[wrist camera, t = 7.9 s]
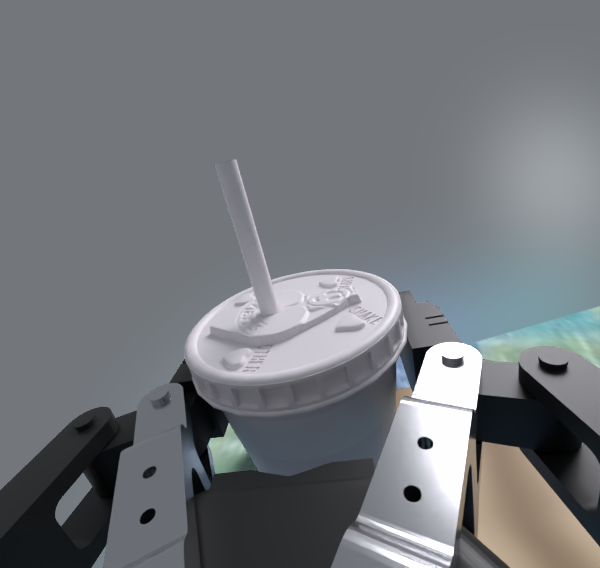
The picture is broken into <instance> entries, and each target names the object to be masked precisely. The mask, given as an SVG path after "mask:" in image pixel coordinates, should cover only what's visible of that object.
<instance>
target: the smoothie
mask: <svg viewBox="0 0 600 568" xmlns="http://www.w3.org/2000/svg"><path fill="white" fill-rule="evenodd" d="M214 166H215V169H216V172H217V175H218V178H219V182H220V185H221V188H222V191H223V194H224V198H225V201H226V204H227V207H228V210H229V214H230V217H231V220H232V223H233V226H234V230H235V233H236V236H237V239H238V242H239V245H240V249H241V252H242V255H243V258H244V262H245V265H246V268H247V271H248V274H249V277H250V281H251V284H252V287H251V288H249V289H247V290H244V291H242V292H240V293H238V294H236V295H234V296H232V297H231V298H229V299H227V300H225V301H224V302H222V303H221V304H219V305H218V306H216V307H215V308H213V309H212V310H211V311H210V312H209V313H207V314H206V315H205V316H204V317H203V318H202V319H201V320H200V321H199V322H198V323H197V324H196V326H195V327H194V328H193V330H192V331H191V333H190V334H189V336H188V338H187V340H186V343H185V348H184V357H185V361H186V363H187V365H188V367H189V370H190V372H191V374H192V380H193V383H194V385H195V388H196V391H197V393H198V395H199V396H201V397H202V398H203V399H204V400H205V401H206V402H208V403H209V404H210V405H211V406H212V407H213V408H216V409H219V410H222V411H223V413H224V414H225V416H226V418H227V420H228V421H229V423H230V425H231V427H232V428H233V430H234V432H235V434H236V435H237V437H238V438H239V439H240V441H241V443H242V444H243V446H244V448H245V449H246V451H247V453H248V454H249V456H250V458H251V459H252V461H253V463H254V464H255V466H256V468H257V469H258V471H259V472H265V473H271V474H277V475H283V476H292V475H295V474H298V473H301V472H304V471H307V470H310V469H313V468H316V467H319V466H322V465H325V464H328V463H331V462H338V461H348V460H357V459H367V458H373V462H374V467H375V469H376V466H377V464H378V461H379V458H380V456H381V453H382V450H383V447H384V445H385V442H386V439H387V437H388V434H389V431H390V428H391V426H392V423H393V420H394V418H395V415H396V390H397V384H396V361H397V359H398V357H399V355H400V354H401V352H402V350H403V348H404V346H405V344H406V342H407V322H406V320H405V318H404V316H403V312H402V305H401V299H400V295H399V293H398V291H397V290H396V289H395V287H394V286H393V285H391V284H390V283H389V282H387V281H386V280H385V279H382V278H380V277H378V276H375V275H373V274H370V273H365V272H362V271H355V270H346V269H329V270H315V271H308V272H302V273H297V274H292V275H288V276H283V277H280V278H276V279H273V280H271V279H270V275H269V271H268V268H267V265H266V261H265V258H264V254H263V251H262V247H261V244H260V240H259V237H258V234H257V230H256V226H255V223H254V219H253V216H252V212H251V209H250V205H249V202H248V199H247V196H246V192H245V188H244V185H243V182H242V178H241V174H240V171H239V167H238V164H237V160H231V161H227V162H223V163H219V164H216V165H214Z"/></svg>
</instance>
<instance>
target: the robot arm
mask: <svg viewBox="0 0 600 568" xmlns="http://www.w3.org/2000/svg"><path fill="white" fill-rule="evenodd" d="M399 295H400V299H401V305H402V312H403V316H404V318H405V320H406V322H407V342H406V344H405V346H404V348H403V350H402V352H401V354H400V357H401V360H402V363H403V366H404V369H405V372H406V375H407V378H408V380H409V383H410V386H411V389H412V392H413V394H412V397H409V396H403V398H402V399H401V401H400V404H399V407H398V409H397V412H396V415H395V418H394V420H393V423H392V426H391V428H390V431H389V434H388V437H387V439H386V442H385V445H384V447H383V450H382V453H381V456H380V458H379V461H378V464H377V466H376V469H375V467H374V462H373V458H367V459H357V460H348V461H338V462H331V463H328V464H325V465H322V466H319V467H316V468H313V469H310V470H307V471H304V472H301V473H298V474H295V475H292V476H283V475H277V474H271V473H265V472H258V471H252V470H250V471H240V472H230V473H220V474H215V470H214V465H213V459H212V453H211V450H210V448H209V446H208V443H209V440H210V438H216V437H224V435H225V432H226V429H227V426H228V423H229V421H228V420H227V418H226V416H225V414H224V413H223V411H222V410H219V409H216V408H213V407H212V406H211V405H210V404H209V403H208V402H206V401H205V400H204V399H203V398H202V397H201V396H199V395H198V393H197V391H196V388H195V385H194V383H193V380H192V374H191V372H190V370H189V367H188V365H187V363H186V361H185V359H184V361H183V364H181V365H180V367H179V369H178V370H177V372H176V373H175V375H174V376H173V378H172V380H171V381H170V383H169V384H165V385H162V386H159V387H157V388H155V389H154V390H152V391H151V392H149V393H148V394H146V395H145V396H144V397H143V398H142V400H141V401H140V402H139V404H138V408H137V411H134V412H132V413H129V414H126V415H123V416H120V417H117V418H115V417H114V415H113V413H112V411H111V410H110V409H109V408H108V407H99V408H95V409H92V410H90V411H87V412H85V413H83V414H82V415H80V416H78V417H77V418H75V420H73V421H72V422H71V423H70V424H68V425H67V426H66V427H65V428H64V429H63V430H62V431H61V432H60V433H59V434H58V435H57V436H56V437H55V438H54V439H53V440H52V441H51V442H50V443H49V444H48V445H47V446H46V447H45V448H44V449H43V450H42V451H41V452H40V453H39V454H37V455H36V456H35V457H34V458H33V460H31V461H30V462H29V463H28V464H27V465H26V466H25V467H24V468H23V469H22V470H21V471H20V472H19V473H18V474H17V475H16V476H15V477H14V478H13V479H12V480H11V481H10V482H8V483H7V484H6V485H5V486H4V487H3V488H2V489H1V490H0V568H91V567H92V566H93V564H94V563H95V561H96V560H97V558H98V557H99V555H100V554H101V552H102V551H103V549H104V547H105V546H106V551H105V558H104V565H103V568H510V567H509V566H508V565H507V564H506V563H505V562H504V561H502V560H501V559H500V558H499V557H498V556H497V555H496V554H494V553H493V552H492V551H491V550H490V549H489V548H488V547H486V546H485V545H484V544H483V543H482V542H481V541H480V540H479V539H477V537H478V516H479V492H480V480H481V469H482V458H483V446H484V442H488V443H494V444H501V445H507V446H513V447H519V449H520V450H521V452H522V453H523V454H524V455H525V457H526V458H527V459H528V460H529V461H530V463H531V464H532V465H533V466H534V468H535V469H536V470H537V471H538V472H539V474H540V475H541V476H542V477H543V479H544V480H545V481H546V482H547V483H548V485H549V486H550V487H551V488H552V489H553V491H554V492H555V493H556V494H557V496H558V497H559V498H560V499H561V500H562V502H563V503H564V504H565V505H566V507H567V508H568V509H569V510H570V511H571V513H572V514H573V515H574V516H575V517H576V519H577V520H578V521H579V522H580V524H581V525H582V526H583V527H584V528H585V530H586V531H587V532H588V533H589V535H590V536H591V537H592V538H593V539H594V541H595V542H596V543H597V544H598V545H599V547H600V369H599V368H598V367H596V366H595V365H593V364H592V363H590V362H589V361H587V360H586V359H584V358H583V357H581V356H580V355H578V354H576V353H574V352H572V351H569V350H566V349H562V348H557V347H549V346H541V347H533V348H530V349H527V350H525V351H523V352H522V353H521V354H520V356H519V363H510V362H496V361H490V360H485V359H482V357H481V354H480V353H479V352H478V351H477V350H476V349H474V348H473V347H471V346H468V345H466V344H462V343H461V341H460V339H459V338H458V336H457V335H456V333H455V332H454V330H453V329H452V327H451V326H450V324H449V323H448V321H447V320H446V318H445V316H443V313H442V312H441V311H440V309H439V307H437V306H436V305H434V304H432V303H430V302H428V301H426V302H420V303H416V301H415V299H414V297H413V295H412V294H411V292H410V291H404V292H399ZM82 473H84V474H85V476H86V477H87V479H88V480H89V482H90V483H91V485H92V486H93V487H92V488H91V490H90V491H89V492H88V493H87V495H86V496H85V497H84V499H83V500H82V501H81V502H80V504H79V505H78V506H77V507H76V509H75V510H74V511H73V512H72V514H71V515H70V516H69V517H68V519H67V520H66V521H65V523H64V524H63V525H62V526H60V525H59V524H58V522H57V521H56V519H55V510H56V506H57V504H58V502H59V500H60V499H61V498H62V496H63V495H64V494H65V493H66V492H67V490H68V489H69V488H70V487H71V486H72V485H73V483H74V482H75V481H76V480H77V479H78V477H79V476H80V475H81V474H82ZM106 544H107V545H106Z"/></svg>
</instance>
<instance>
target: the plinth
mask: <svg viewBox="0 0 600 568" xmlns="http://www.w3.org/2000/svg"><path fill="white" fill-rule="evenodd" d="M412 394H413V392H412V389H411V387H409V388H401V389H397V390H396V412H397V409H398V407H399V404H400V401H401V399H402V398H403V396H409V397H412ZM477 539H479V540H480V541H481V542H482V543H483V544H484V545H485V546H486V547H488V548H489V549H490V550H491V551H492V552H493V553H494V554H496V555H497V556H498V557H499V558H500V559H501V560H502V561H504V562H505V563H506V564H507V565H508V566H509V567H510V568H600V547H599V545H598V544H597V543H596V542H595V541H594V539H593V538H592V537H591V536H590V535H589V533H588V532H587V531H586V530H585V528H584V527H583V526H582V525H581V524H580V522H579V521H578V520H577V519H576V517H575V516H574V515H573V514H572V513H571V511H570V510H569V509H568V508H567V507H566V505H565V504H564V503H563V502H562V500H561V499H560V498H559V497H558V496H557V494H556V493H555V492H554V491H553V489H552V488H551V487H550V486H549V485H548V483H547V482H546V481H545V480H544V479H543V477H542V476H541V475H540V474H539V472H538V471H537V470H536V469H535V468H534V466H533V465H532V464H531V463H530V461H529V460H528V459H527V458H526V457H525V455H524V454H523V453H522V452H521V450H520V449H519V447H513V446H507V445H501V444H494V443H488V442H484V446H483V458H482V469H481V480H480V492H479V516H478V537H477Z"/></svg>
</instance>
